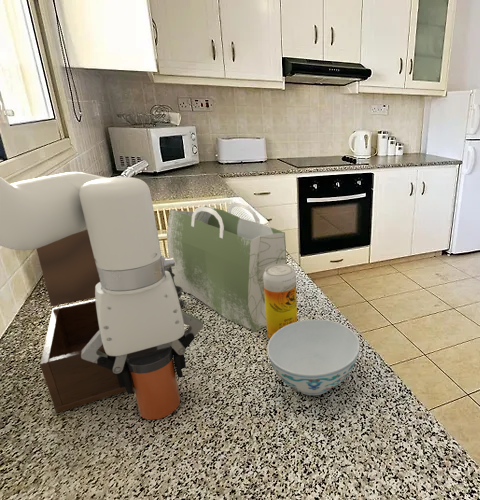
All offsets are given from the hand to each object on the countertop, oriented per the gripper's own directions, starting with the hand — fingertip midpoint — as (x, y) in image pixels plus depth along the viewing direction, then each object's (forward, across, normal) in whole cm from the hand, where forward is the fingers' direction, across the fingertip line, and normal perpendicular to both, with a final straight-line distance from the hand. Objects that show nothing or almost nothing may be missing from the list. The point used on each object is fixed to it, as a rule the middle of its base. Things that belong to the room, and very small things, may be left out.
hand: (154, 379), depth 56 cm
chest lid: (-14, +6, -25) cm, 29 cm away
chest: (+5, +6, -15) cm, 17 cm away
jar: (+5, 0, 0) cm, 5 cm away
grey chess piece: (+5, -6, -32) cm, 33 cm away
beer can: (+5, -24, -8) cm, 25 cm away
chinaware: (+5, -23, +7) cm, 25 cm away
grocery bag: (+5, -19, -29) cm, 35 cm away
